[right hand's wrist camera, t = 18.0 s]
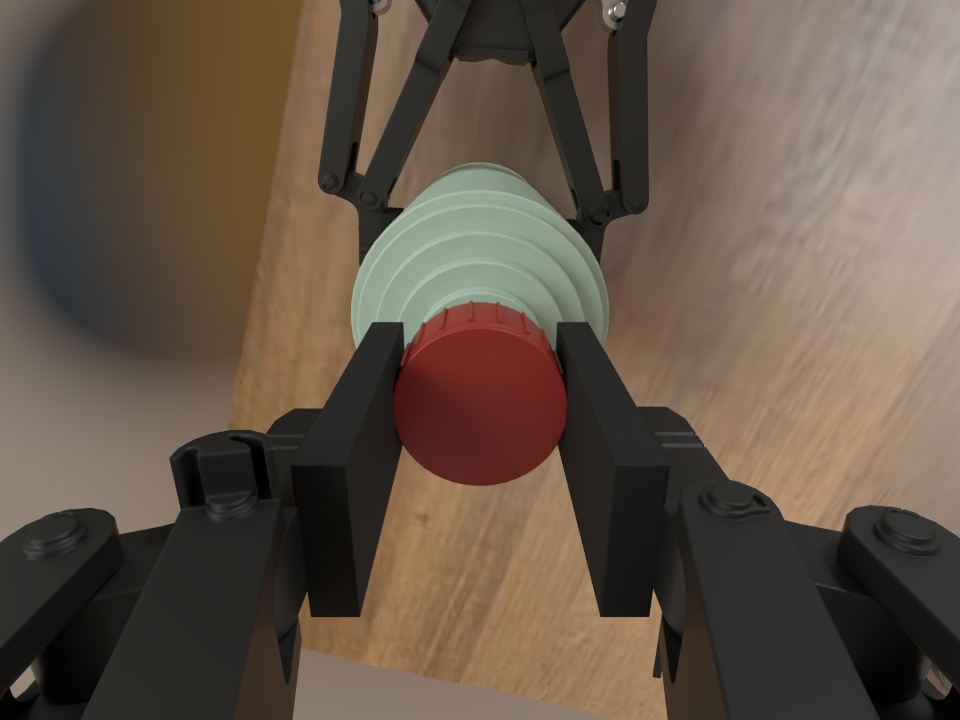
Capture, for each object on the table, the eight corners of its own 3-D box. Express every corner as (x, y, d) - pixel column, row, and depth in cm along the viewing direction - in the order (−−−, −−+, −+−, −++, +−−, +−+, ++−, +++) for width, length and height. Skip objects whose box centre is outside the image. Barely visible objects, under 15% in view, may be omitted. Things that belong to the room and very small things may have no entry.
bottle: (421, 150, 33) (307, 183, 11) (560, 174, 34) (711, 251, 12) (405, 286, 36) (288, 525, 14) (532, 307, 37) (612, 568, 15)
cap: (421, 455, 15) (412, 500, 13) (383, 315, 14) (368, 344, 12) (568, 430, 15) (580, 473, 13) (545, 285, 14) (555, 309, 12)
